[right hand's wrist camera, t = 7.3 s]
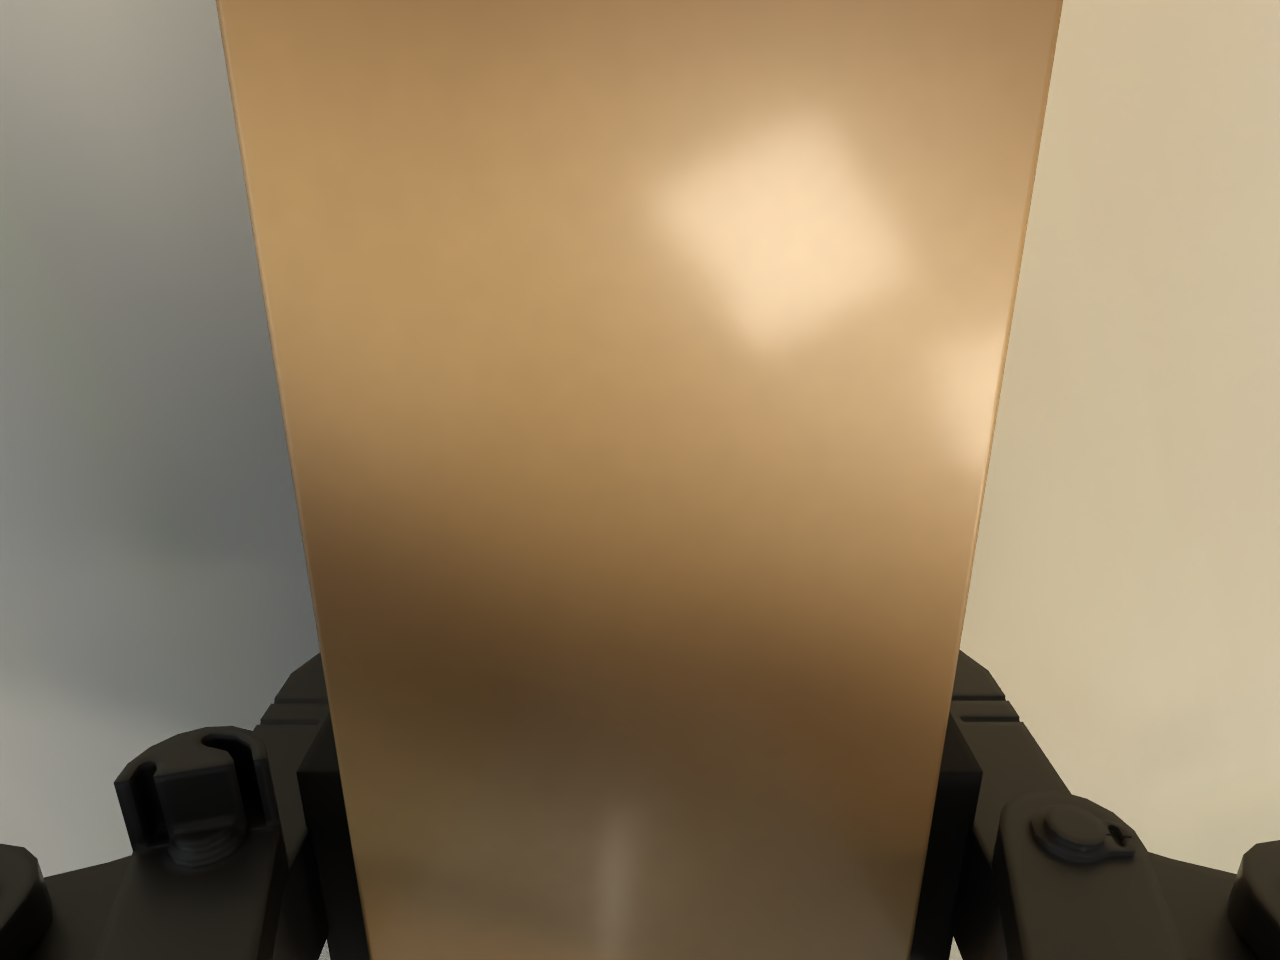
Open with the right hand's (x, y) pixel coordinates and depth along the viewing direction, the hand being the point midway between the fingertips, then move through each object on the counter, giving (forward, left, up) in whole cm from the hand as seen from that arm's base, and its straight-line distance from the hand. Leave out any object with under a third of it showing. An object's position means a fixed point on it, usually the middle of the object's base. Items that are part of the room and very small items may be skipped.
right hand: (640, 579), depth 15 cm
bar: (+16, -28, -1) cm, 33 cm away
